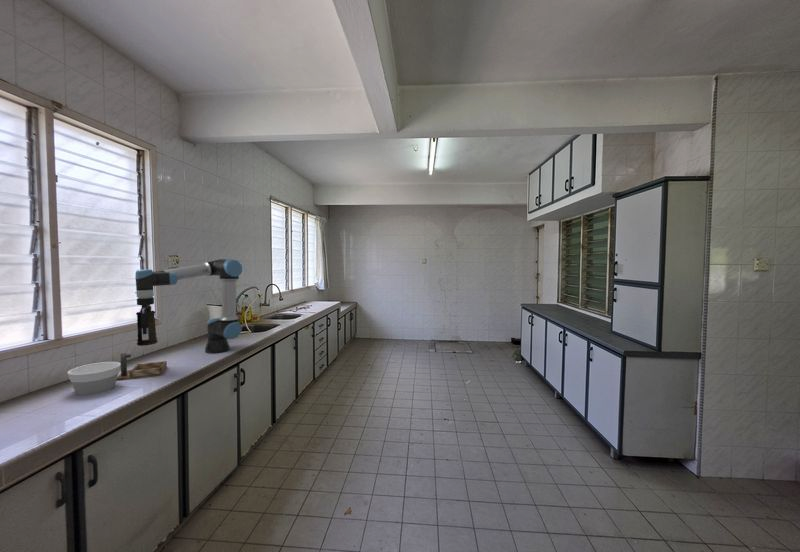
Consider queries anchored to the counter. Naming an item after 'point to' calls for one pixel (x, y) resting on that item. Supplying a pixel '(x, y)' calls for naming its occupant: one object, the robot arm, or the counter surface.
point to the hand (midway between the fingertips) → (147, 337)
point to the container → (150, 329)
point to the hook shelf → (140, 369)
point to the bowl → (94, 377)
